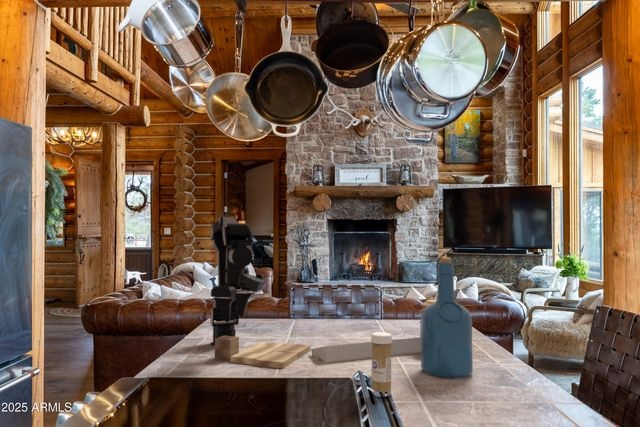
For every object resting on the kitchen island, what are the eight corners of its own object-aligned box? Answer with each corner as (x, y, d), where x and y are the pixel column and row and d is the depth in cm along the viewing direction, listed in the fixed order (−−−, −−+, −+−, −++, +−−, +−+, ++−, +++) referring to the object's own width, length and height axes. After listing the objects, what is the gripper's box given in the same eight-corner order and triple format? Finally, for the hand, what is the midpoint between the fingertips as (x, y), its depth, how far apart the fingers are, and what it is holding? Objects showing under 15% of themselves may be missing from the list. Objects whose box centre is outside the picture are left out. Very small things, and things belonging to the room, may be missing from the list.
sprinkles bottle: (367, 395, 101) (367, 333, 102) (378, 390, 105) (378, 330, 105) (384, 400, 98) (384, 336, 99) (395, 394, 102) (395, 333, 102)
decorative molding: (312, 365, 136) (327, 364, 127) (311, 349, 137) (325, 346, 129) (407, 354, 150) (425, 352, 142) (404, 339, 152) (423, 336, 143)
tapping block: (214, 360, 130) (215, 338, 131) (223, 356, 135) (223, 335, 135) (230, 361, 129) (230, 340, 129) (238, 357, 133) (239, 336, 134)
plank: (230, 362, 128) (230, 356, 128) (261, 347, 147) (261, 342, 147) (256, 364, 126) (256, 358, 126) (284, 348, 145) (284, 343, 145)
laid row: (255, 365, 125) (256, 359, 125) (286, 348, 145) (286, 343, 146) (283, 368, 122) (283, 362, 122) (310, 350, 143) (310, 345, 143)
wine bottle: (416, 365, 126) (416, 256, 128) (465, 366, 126) (463, 257, 128) (426, 380, 113) (425, 258, 115) (480, 381, 112) (479, 258, 114)
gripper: (247, 267, 124) (246, 326, 122) (273, 264, 141) (272, 315, 140) (210, 266, 127) (209, 323, 125) (240, 264, 144) (239, 314, 143)
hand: (234, 319), depth 134 cm, fingers open, 9 cm apart
